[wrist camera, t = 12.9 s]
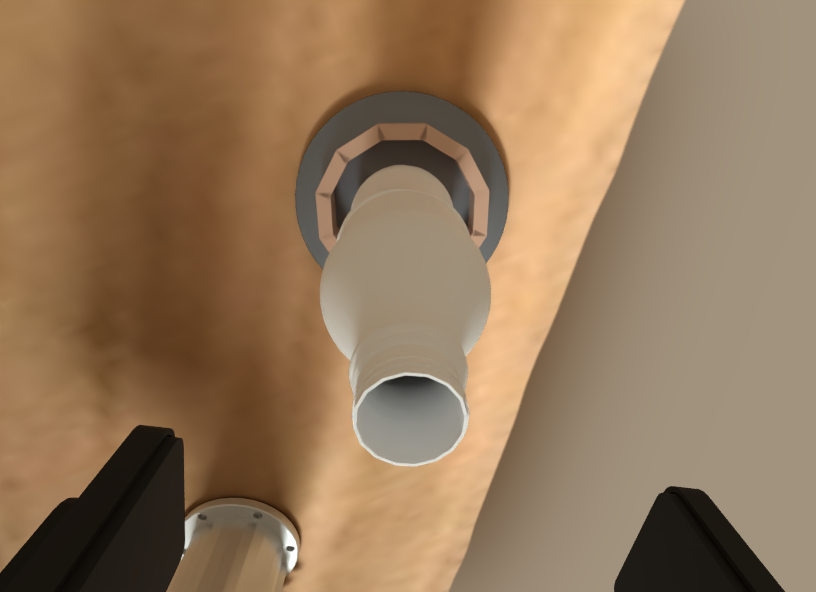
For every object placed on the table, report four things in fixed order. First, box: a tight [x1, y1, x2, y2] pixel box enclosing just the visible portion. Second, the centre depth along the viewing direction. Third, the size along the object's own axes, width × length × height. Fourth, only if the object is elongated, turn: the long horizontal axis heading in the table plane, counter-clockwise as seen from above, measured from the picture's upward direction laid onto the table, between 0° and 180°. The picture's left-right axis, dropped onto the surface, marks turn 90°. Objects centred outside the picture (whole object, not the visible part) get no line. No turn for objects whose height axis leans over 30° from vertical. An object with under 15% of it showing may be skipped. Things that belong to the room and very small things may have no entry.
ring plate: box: [295, 91, 509, 269], centre depth 34 cm, size 16×16×4 cm
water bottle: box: [320, 165, 491, 466], centre depth 23 cm, size 7×7×25 cm
